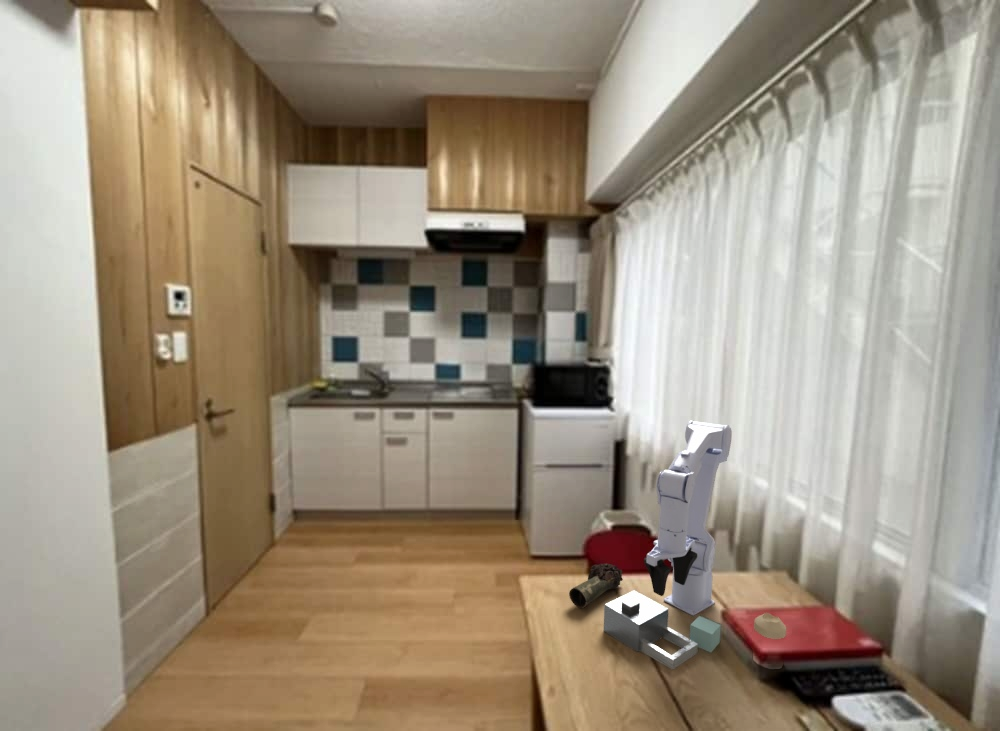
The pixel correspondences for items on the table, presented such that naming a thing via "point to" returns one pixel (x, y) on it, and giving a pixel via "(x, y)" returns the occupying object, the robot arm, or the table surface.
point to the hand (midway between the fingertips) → (669, 588)
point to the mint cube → (705, 633)
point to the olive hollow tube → (596, 584)
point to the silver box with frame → (645, 628)
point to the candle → (770, 626)
